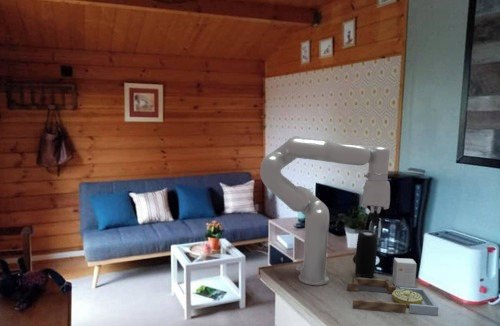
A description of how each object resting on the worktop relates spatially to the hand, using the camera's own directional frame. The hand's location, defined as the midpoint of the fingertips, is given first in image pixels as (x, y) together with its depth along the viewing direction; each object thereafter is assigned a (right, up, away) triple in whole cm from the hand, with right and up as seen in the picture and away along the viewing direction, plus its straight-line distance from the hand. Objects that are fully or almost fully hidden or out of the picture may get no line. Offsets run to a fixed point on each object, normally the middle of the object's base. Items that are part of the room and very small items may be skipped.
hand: (373, 222), depth 167 cm
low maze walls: (-2, -28, -7) cm, 29 cm away
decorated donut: (+10, -29, -10) cm, 32 cm away
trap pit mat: (-1, -27, 0) cm, 27 cm away
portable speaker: (0, -26, +15) cm, 30 cm away
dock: (+12, -29, -12) cm, 34 cm away
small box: (+14, -27, +7) cm, 32 cm away
